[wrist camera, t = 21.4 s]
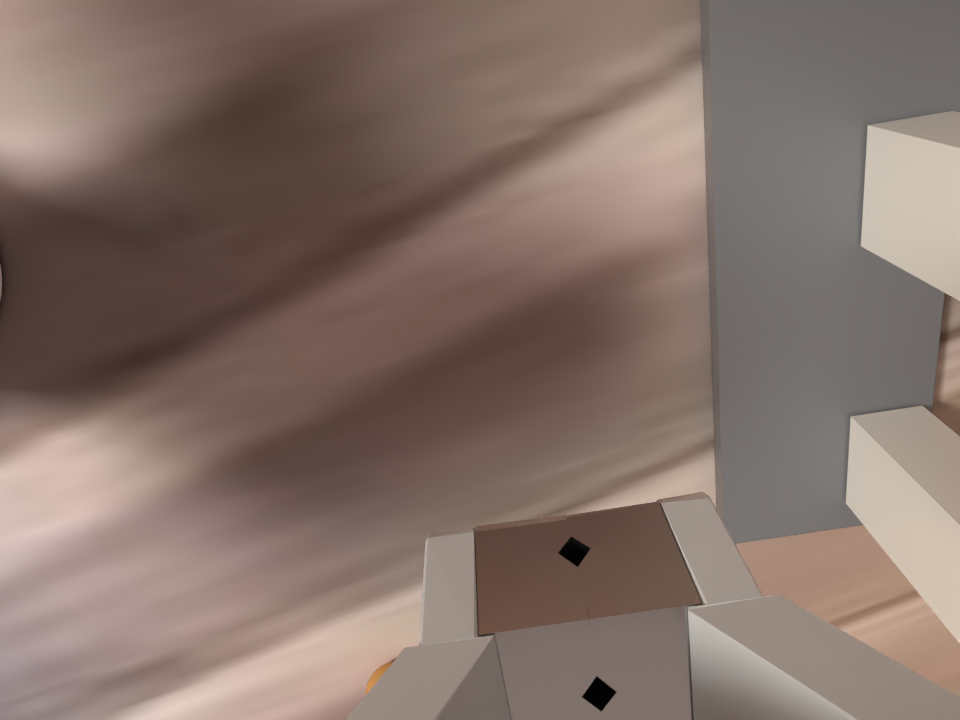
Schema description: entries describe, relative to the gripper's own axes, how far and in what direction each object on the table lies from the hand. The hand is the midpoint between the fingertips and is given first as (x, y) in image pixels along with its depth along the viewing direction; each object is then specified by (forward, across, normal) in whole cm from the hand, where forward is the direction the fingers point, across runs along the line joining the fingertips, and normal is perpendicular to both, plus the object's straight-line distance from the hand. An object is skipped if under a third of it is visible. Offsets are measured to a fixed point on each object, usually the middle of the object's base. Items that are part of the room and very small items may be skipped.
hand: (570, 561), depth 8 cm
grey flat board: (+31, -17, +5) cm, 36 cm away
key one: (+30, -20, +21) cm, 42 cm away
